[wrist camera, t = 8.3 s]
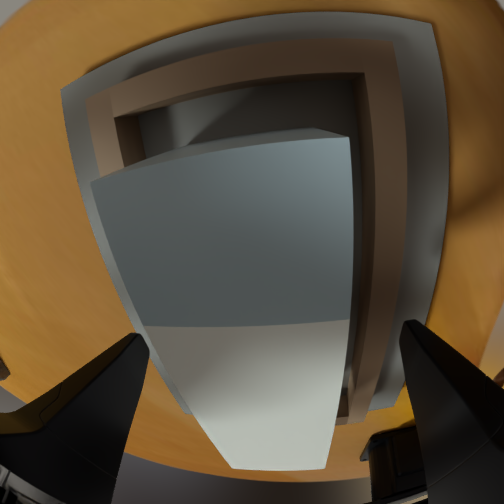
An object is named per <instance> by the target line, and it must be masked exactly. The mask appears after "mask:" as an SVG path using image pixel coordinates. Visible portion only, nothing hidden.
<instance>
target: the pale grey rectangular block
mask: <svg viewBox="0 0 504 504" xmlns="http://www.w3.org/2000/svg"><path fill="white" fill-rule="evenodd" d="M90 185H91V189H92V193H93V196H94V200H95V203H96V206H97V210H98V213H99V216H100V219H101V222H102V226H103V229H104V232H105V234H106V237H107V240H108V243H109V246H110V249H111V251H112V254H113V257H114V259H115V262H116V265H117V267H118V270H119V272H120V275H121V277H122V280H123V282H124V285H125V287H126V289H127V292H128V294H129V296H130V299H131V301H132V303H133V305H134V308H135V310H136V312H137V314H138V316H139V318H140V320H141V323H142V325H143V327H144V329H145V331H146V333H147V335H148V337H149V339H150V341H151V343H152V345H153V347H154V349H155V350H156V352H157V354H158V356H159V358H160V360H161V362H162V363H163V365H164V367H165V369H166V371H167V372H168V374H169V376H170V378H171V379H172V381H173V383H174V384H175V386H176V388H177V389H178V391H179V393H180V394H181V396H182V398H183V399H184V401H185V402H186V404H187V406H188V407H189V409H190V410H191V412H192V413H193V415H194V416H195V418H196V419H197V421H198V422H199V424H200V425H201V427H202V428H203V430H204V431H205V433H206V434H207V435H208V437H209V438H210V440H211V441H212V442H213V444H214V445H215V447H216V448H217V449H218V451H219V452H220V453H221V455H222V456H223V457H224V459H225V460H226V461H227V462H228V464H229V465H230V466H231V467H232V468H234V469H248V470H274V471H288V470H314V469H325V465H326V461H327V457H328V453H329V449H330V445H331V440H332V436H333V431H334V426H335V421H336V416H337V411H338V405H339V400H340V394H341V388H342V381H343V374H344V367H345V359H346V351H347V342H348V333H349V322H350V310H351V296H352V276H353V188H352V169H351V154H350V142H349V137H346V136H343V135H340V134H336V133H332V132H329V131H325V130H321V129H317V128H313V127H307V128H296V129H285V130H276V131H268V132H260V133H253V134H246V135H239V136H233V137H227V138H221V139H216V140H210V141H205V142H200V143H195V144H191V145H186V146H183V147H180V148H177V149H174V150H171V151H168V152H165V153H162V154H159V155H156V156H153V157H151V158H148V159H145V160H143V161H140V162H137V163H135V164H132V165H130V166H127V167H124V168H122V169H120V170H117V171H115V172H112V173H110V174H108V175H105V176H103V177H101V178H98V179H96V180H94V181H92V182H90Z"/></svg>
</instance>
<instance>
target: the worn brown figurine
mask: <svg viewBox="0 0 504 504" xmlns="http://www.w3.org/2000/svg"><path fill="white" fill-rule="evenodd" d="M9 375H10V372H9V371H8V369H7V368H6V367H5V365H4V364H3V362H2V361H1V360H0V381H1V380H5V379H6V378H7V377H8V376H9Z"/></svg>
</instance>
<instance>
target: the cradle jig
mask: <svg viewBox="0 0 504 504" xmlns="http://www.w3.org/2000/svg"><path fill="white" fill-rule="evenodd" d="M60 90H61V99H62V106H63V113H64V120H65V126H66V131H67V137H68V142H69V147H70V151H71V156H72V160H73V164H74V169H75V173H76V177H77V180H78V184H79V188H80V191H81V195H82V198H83V202H84V205H85V208H86V212H87V215H88V218H89V221H90V224H91V227H92V230H93V233H94V236H95V238H96V241H97V244H98V247H99V249H100V252H101V255H102V257H103V260H104V262H105V265H106V267H107V270H108V272H109V275H110V277H111V279H112V282H113V284H114V286H115V289H116V291H117V293H118V295H119V298H120V300H121V302H122V304H123V306H124V308H125V310H126V312H127V315H128V317H129V319H130V321H131V323H132V325H133V327H134V329H135V331H136V332H137V333H140V334H141V335H142V336H143V338H144V340H145V342H146V344H147V346H148V347H149V350H150V358H151V360H152V362H153V363H154V365H155V367H156V369H157V370H158V372H159V374H160V375H161V377H162V379H163V380H164V382H165V383H166V385H167V387H168V388H169V390H170V391H171V393H172V395H173V396H174V398H175V399H176V401H177V402H178V404H179V405H180V407H181V408H182V410H183V411H184V413H185V414H193V413H192V412H191V410H190V409H189V407H188V406H187V404H186V402H185V401H184V399H183V398H182V396H181V394H180V393H179V391H178V389H177V388H176V386H175V384H174V383H173V381H172V379H171V378H170V376H169V374H168V372H167V371H166V369H165V367H164V365H163V363H162V362H161V360H160V358H159V356H158V354H157V352H156V350H155V349H154V347H153V345H152V343H151V341H150V339H149V337H148V335H147V333H146V331H145V329H144V327H143V325H142V323H141V320H140V318H139V316H138V314H137V312H136V310H135V308H134V305H133V303H132V301H131V299H130V296H129V294H128V292H127V289H126V287H125V285H124V282H123V280H122V277H121V275H120V272H119V270H118V267H117V265H116V262H115V259H114V257H113V254H112V251H111V249H110V246H109V243H108V240H107V237H106V234H105V232H104V229H103V226H102V222H101V219H100V216H99V213H98V210H97V206H96V203H95V200H94V196H93V193H92V189H91V185H90V182H92V181H94V180H96V179H98V178H101V177H103V176H105V175H108V174H110V173H112V172H115V171H117V170H120V169H122V168H124V167H127V166H130V165H132V164H135V163H137V162H140V161H143V160H145V159H148V158H151V157H153V156H156V155H159V154H162V153H165V152H168V151H171V150H174V149H177V148H180V147H183V146H186V145H191V144H195V143H200V142H205V141H210V140H216V139H221V138H227V137H233V136H239V135H246V134H253V133H260V132H268V131H276V130H285V129H296V128H307V127H313V128H317V129H321V130H325V131H329V132H332V133H336V134H340V135H343V136H346V137H349V142H350V154H351V169H352V188H353V276H352V296H351V310H350V322H349V333H348V342H347V351H346V359H345V367H344V374H343V381H342V388H341V394H340V400H339V405H338V411H337V416H336V421H335V425H344V424H352V423H359V422H364V420H365V417H366V414H367V412H368V411H371V410H377V409H383V408H388V407H393V406H394V404H395V402H396V400H397V398H398V396H399V393H400V391H401V389H402V386H403V384H404V382H405V375H404V369H403V363H402V357H401V352H400V347H399V337H400V333H401V329H402V325H403V322H404V321H405V320H411V319H416V320H418V321H419V322H421V323H422V324H423V325H425V322H426V318H427V315H428V311H429V308H430V304H431V300H432V296H433V292H434V287H435V283H436V278H437V273H438V268H439V263H440V257H441V251H442V245H443V238H444V231H445V223H446V213H447V202H448V185H449V132H448V117H447V106H446V97H445V89H444V82H443V75H442V70H441V64H440V59H439V54H438V50H437V45H436V41H435V37H434V33H433V29H432V26H431V24H430V23H426V22H421V21H416V20H411V19H406V18H400V17H393V16H386V15H378V14H368V13H354V12H299V13H285V14H275V15H266V16H259V17H252V18H246V19H240V20H235V21H230V22H225V23H220V24H216V25H212V26H207V27H204V28H200V29H196V30H192V31H189V32H186V33H182V34H179V35H176V36H173V37H170V38H167V39H164V40H161V41H158V42H155V43H153V44H150V45H148V46H145V47H142V48H140V49H137V50H135V51H133V52H130V53H128V54H126V55H124V56H121V57H119V58H117V59H115V60H113V61H111V62H109V63H107V64H105V65H103V66H101V67H99V68H97V69H95V70H93V71H91V72H89V73H87V74H86V75H84V76H82V77H80V78H79V79H77V80H75V81H73V82H72V83H70V84H68V85H67V86H65V87H64V88H62V89H60Z"/></svg>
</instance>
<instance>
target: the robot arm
mask: <svg viewBox="0 0 504 504" xmlns="http://www.w3.org/2000/svg"><path fill="white" fill-rule="evenodd" d="M399 347H400V352H401V357H402V363H403V369H404V375H405V381H406V386H407V390H408V394H409V397H410V401H411V405H412V409H413V414H414V418H415V422H416V427H412V428H409V429H404V430H400V431H396V432H391V433H386V434H381V435H376V436H373V437H371V438H370V439H369V441H368V443H367V444H366V446H365V448H364V450H363V452H362V454H361V456H360V461H368V460H369V468H370V480H371V494H372V502H369V503H364V504H400V503H404V502H407V501H410V500H413V499H416V498H418V497H421V496H424V495H427V494H428V498H427V499H424V500H421V501H418V502H415V503H412V504H504V389H503V388H501V387H500V386H499V385H498V384H497V383H495V382H494V381H493V380H492V379H491V378H489V377H488V376H486V375H485V374H484V373H483V372H482V371H481V370H480V369H479V368H477V367H476V366H475V365H474V364H472V363H471V362H470V361H469V360H468V359H466V358H465V357H464V356H463V355H461V354H460V353H459V352H458V351H456V350H455V349H454V348H453V347H451V346H450V345H449V344H448V343H446V342H445V341H444V340H443V339H441V338H440V337H439V336H437V335H436V334H435V333H434V332H432V331H431V330H430V329H428V328H427V327H426V326H424V325H423V324H422V323H421V322H419V321H418V320H416V319H411V320H405V321H404V322H403V325H402V329H401V333H400V337H399ZM149 356H150V350H149V347H148V346H147V344H146V342H145V340H144V338H143V336H142V335H141V334H140V333H129V334H128V335H127V336H125V337H124V338H122V339H121V340H120V341H118V342H117V343H115V344H114V345H112V346H111V347H110V348H108V349H107V350H105V351H104V352H103V353H101V354H100V355H98V356H97V357H96V358H94V359H93V360H91V361H90V362H89V363H87V364H86V365H84V366H83V367H82V368H80V369H79V370H77V371H76V372H75V373H73V374H72V375H70V376H69V377H68V378H66V379H65V380H63V382H61V383H59V384H58V385H56V386H55V387H54V388H52V389H51V390H49V391H48V392H46V393H45V394H43V395H41V396H40V397H38V398H37V399H35V400H33V401H32V402H30V403H28V404H27V405H25V406H23V407H22V408H20V409H18V410H16V411H14V412H10V413H0V504H111V501H112V497H113V493H114V488H115V484H116V478H117V475H118V471H119V468H120V464H121V460H122V456H123V452H124V449H125V445H126V441H127V438H128V434H129V431H130V427H131V424H132V421H133V417H134V414H135V411H136V407H137V404H138V401H139V398H140V395H141V391H142V388H143V383H144V379H145V374H146V369H147V365H148V360H149Z"/></svg>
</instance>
